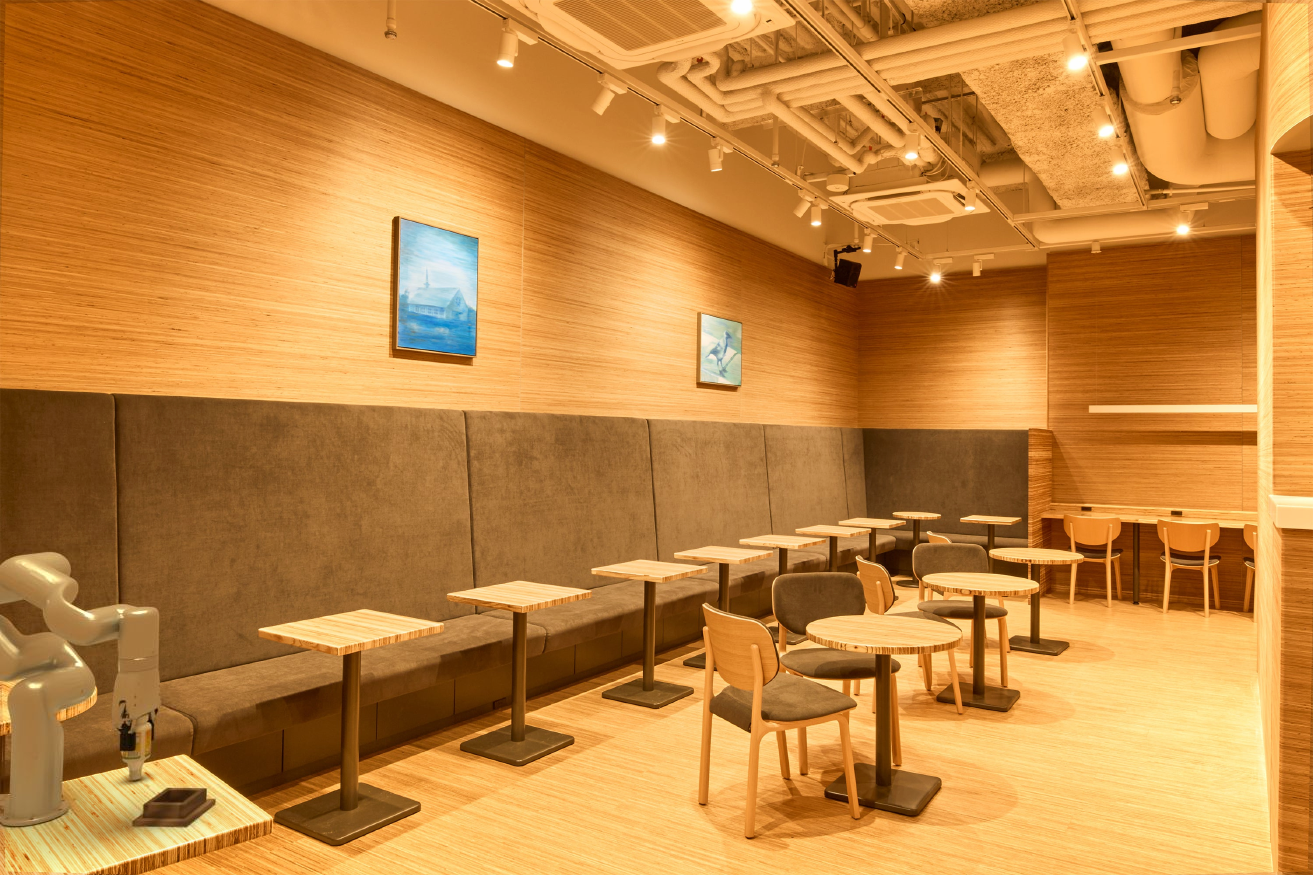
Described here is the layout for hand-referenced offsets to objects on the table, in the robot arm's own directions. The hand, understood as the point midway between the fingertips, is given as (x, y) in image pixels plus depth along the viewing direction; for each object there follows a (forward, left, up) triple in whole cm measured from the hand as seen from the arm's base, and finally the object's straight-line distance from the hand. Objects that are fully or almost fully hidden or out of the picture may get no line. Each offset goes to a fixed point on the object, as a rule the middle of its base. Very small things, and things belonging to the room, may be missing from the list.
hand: (137, 744), depth 180 cm
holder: (+6, +6, -18) cm, 20 cm away
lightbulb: (-15, +25, -18) cm, 34 cm away
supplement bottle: (0, 0, -3) cm, 3 cm away
